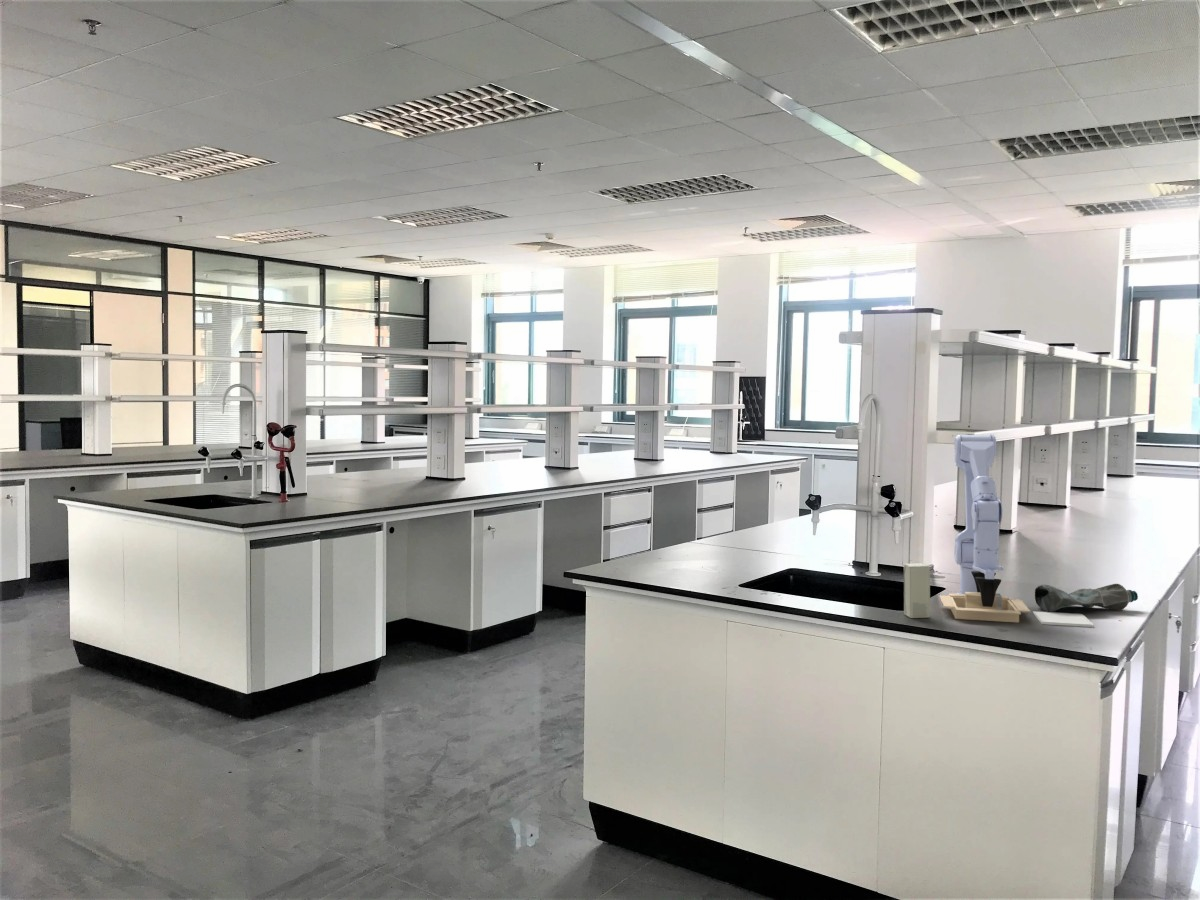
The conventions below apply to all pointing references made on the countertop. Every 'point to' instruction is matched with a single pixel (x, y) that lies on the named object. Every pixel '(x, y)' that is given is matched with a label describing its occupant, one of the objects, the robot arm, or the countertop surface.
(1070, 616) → the mat
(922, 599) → the box
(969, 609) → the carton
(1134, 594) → the crushed plastic bottle
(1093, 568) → the countertop surface
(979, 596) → the block
